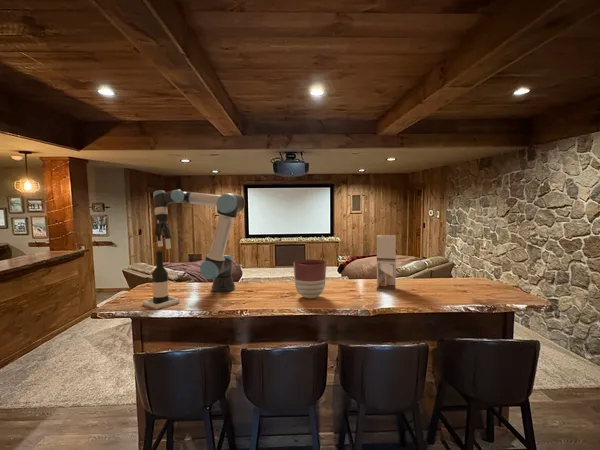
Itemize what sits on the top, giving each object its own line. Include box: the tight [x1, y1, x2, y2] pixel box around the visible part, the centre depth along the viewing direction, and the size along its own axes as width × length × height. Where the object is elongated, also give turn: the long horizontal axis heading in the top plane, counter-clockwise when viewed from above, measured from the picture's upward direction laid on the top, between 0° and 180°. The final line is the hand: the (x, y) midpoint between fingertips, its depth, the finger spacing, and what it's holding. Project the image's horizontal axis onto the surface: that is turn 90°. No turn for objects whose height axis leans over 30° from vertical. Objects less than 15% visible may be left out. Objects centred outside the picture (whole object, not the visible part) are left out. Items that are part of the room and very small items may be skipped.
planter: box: [293, 259, 327, 300], centre depth 199 cm, size 20×20×21 cm
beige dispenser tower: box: [376, 234, 397, 293], centre depth 217 cm, size 11×11×35 cm
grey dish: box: [141, 296, 180, 310], centre depth 189 cm, size 14×14×2 cm
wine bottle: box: [151, 249, 169, 304], centre depth 188 cm, size 8×8×30 cm
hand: (164, 247), depth 209 cm, fingers open, 13 cm apart
